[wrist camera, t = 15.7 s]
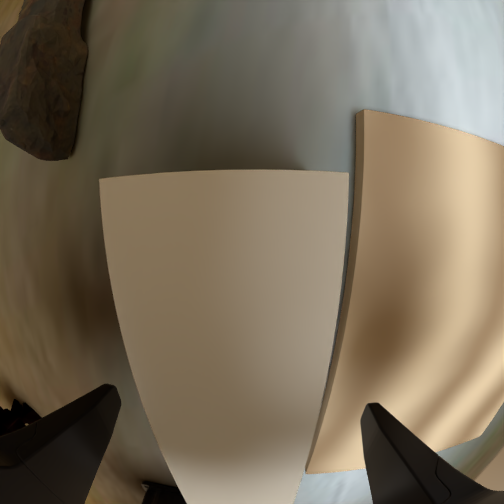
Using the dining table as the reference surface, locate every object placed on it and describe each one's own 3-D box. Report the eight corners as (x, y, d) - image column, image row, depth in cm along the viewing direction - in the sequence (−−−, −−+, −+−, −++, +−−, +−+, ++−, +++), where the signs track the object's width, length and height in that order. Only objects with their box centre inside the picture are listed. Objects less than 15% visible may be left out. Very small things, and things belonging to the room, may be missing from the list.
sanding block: (212, 436, 15) (194, 516, 9) (186, 171, 10) (99, 178, 5) (285, 439, 14) (286, 523, 9) (306, 170, 10) (348, 172, 4)
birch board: (304, 462, 15) (305, 474, 14) (355, 114, 9) (363, 109, 8) (475, 428, 14) (480, 435, 13) (559, 176, 8) (570, 178, 7)
